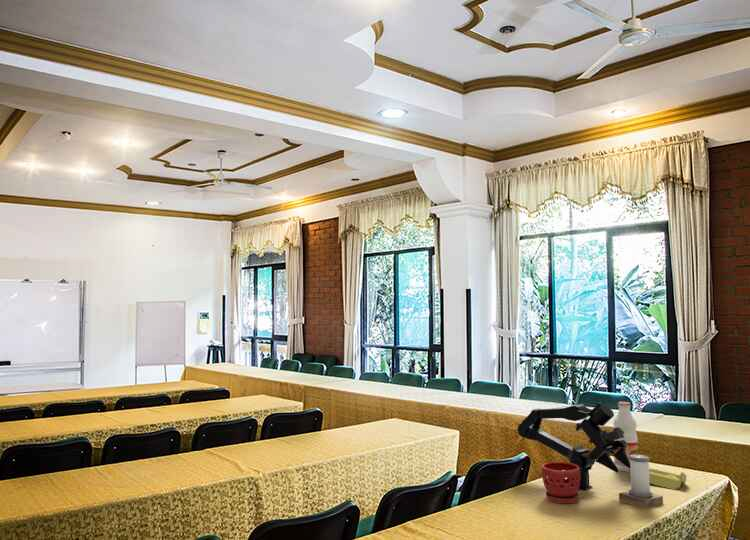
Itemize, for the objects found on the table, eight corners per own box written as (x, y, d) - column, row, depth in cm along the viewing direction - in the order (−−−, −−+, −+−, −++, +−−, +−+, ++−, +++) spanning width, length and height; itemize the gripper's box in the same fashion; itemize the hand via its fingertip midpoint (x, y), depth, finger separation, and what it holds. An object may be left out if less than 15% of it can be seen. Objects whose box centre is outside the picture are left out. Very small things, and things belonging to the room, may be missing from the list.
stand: (644, 508, 199) (644, 500, 199) (619, 500, 208) (619, 493, 208) (662, 503, 204) (662, 496, 204) (637, 495, 213) (637, 488, 213)
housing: (635, 498, 202) (634, 459, 203) (624, 491, 210) (623, 454, 210) (656, 497, 203) (655, 459, 204) (645, 490, 210) (643, 453, 211)
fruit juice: (615, 465, 255) (613, 400, 257) (639, 468, 250) (636, 401, 253) (613, 470, 246) (611, 403, 248) (638, 473, 242) (635, 404, 244)
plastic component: (687, 477, 228) (682, 470, 221) (685, 496, 225) (678, 490, 219) (634, 465, 241) (627, 458, 235) (631, 483, 239) (624, 476, 232)
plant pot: (564, 492, 217) (563, 459, 218) (589, 503, 204) (588, 468, 205) (534, 496, 212) (534, 462, 213) (557, 507, 200) (557, 471, 201)
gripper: (596, 423, 210) (626, 461, 201) (621, 417, 222) (651, 452, 213) (576, 442, 215) (605, 479, 206) (602, 435, 227) (631, 470, 218)
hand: (624, 469), depth 211 cm, fingers open, 9 cm apart
